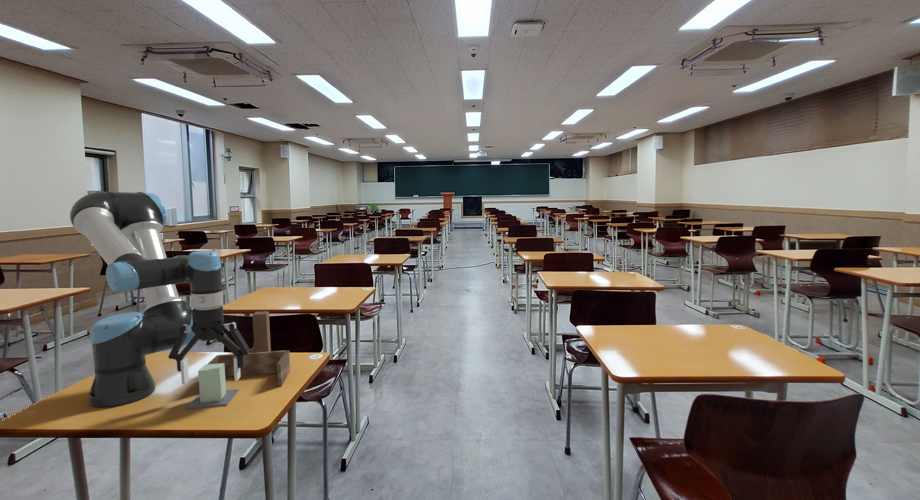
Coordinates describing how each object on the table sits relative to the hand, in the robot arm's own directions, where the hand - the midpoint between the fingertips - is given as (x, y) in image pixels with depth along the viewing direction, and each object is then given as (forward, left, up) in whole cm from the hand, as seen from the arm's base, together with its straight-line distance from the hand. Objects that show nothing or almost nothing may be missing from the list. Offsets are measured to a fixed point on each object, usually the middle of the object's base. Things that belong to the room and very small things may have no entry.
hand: (211, 380), depth 122 cm
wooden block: (+4, +28, -6) cm, 29 cm away
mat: (0, 0, -5) cm, 5 cm away
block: (0, 0, -5) cm, 5 cm away
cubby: (+6, +12, -5) cm, 14 cm away
